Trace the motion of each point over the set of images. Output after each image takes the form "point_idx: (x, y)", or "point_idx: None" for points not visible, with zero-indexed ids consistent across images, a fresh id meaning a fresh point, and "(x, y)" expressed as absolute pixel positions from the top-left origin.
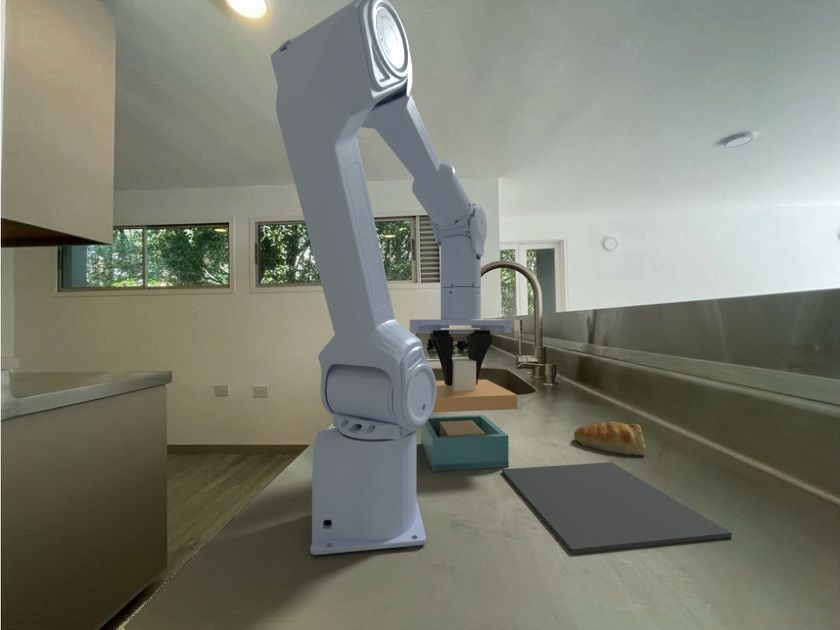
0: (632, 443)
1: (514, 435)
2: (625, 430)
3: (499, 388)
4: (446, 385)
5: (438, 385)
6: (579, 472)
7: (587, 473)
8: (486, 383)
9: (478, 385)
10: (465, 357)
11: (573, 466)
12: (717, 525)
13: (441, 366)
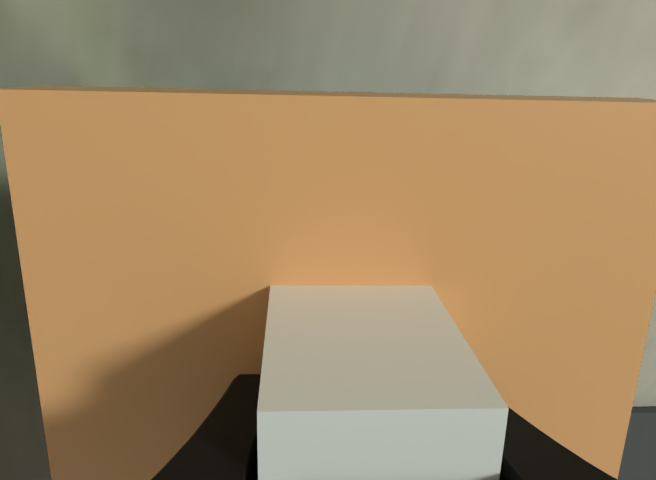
0: None
1: (649, 71)
2: None
3: (589, 461)
4: (261, 320)
5: (197, 312)
6: (626, 460)
7: (642, 468)
8: (596, 285)
9: (501, 350)
10: (501, 409)
11: (640, 424)
12: None
13: (190, 437)
